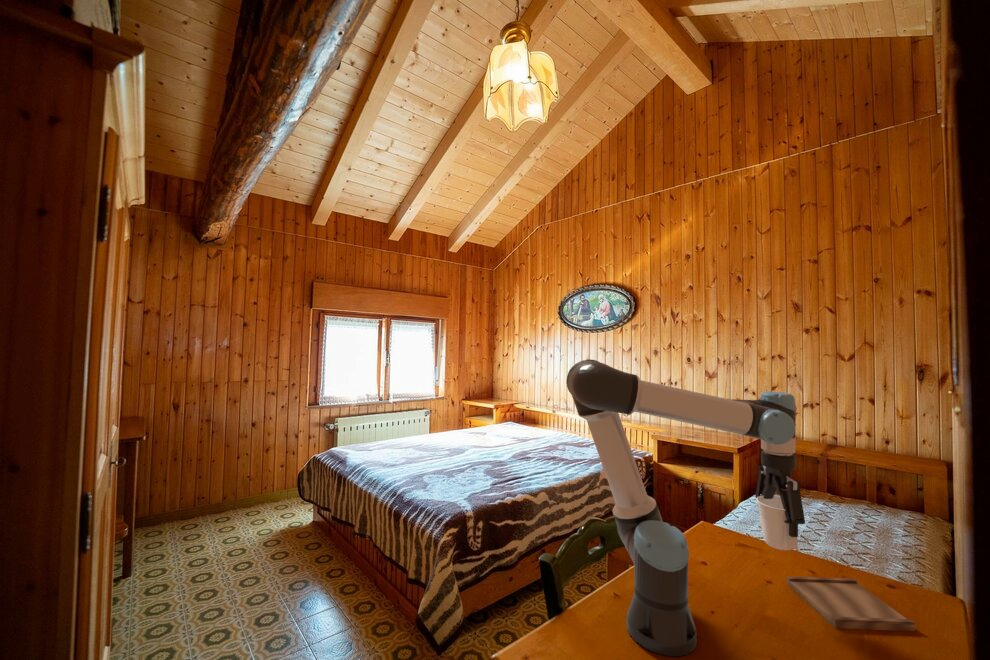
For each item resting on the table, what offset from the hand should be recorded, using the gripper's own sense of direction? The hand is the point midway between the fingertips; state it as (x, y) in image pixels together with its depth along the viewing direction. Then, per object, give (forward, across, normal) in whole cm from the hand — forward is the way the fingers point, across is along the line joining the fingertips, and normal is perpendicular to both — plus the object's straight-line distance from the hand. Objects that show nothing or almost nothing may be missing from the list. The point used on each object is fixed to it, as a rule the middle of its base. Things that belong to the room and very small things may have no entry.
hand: (778, 538), depth 110 cm
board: (+17, 0, -17) cm, 23 cm away
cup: (+2, 0, 0) cm, 2 cm away
